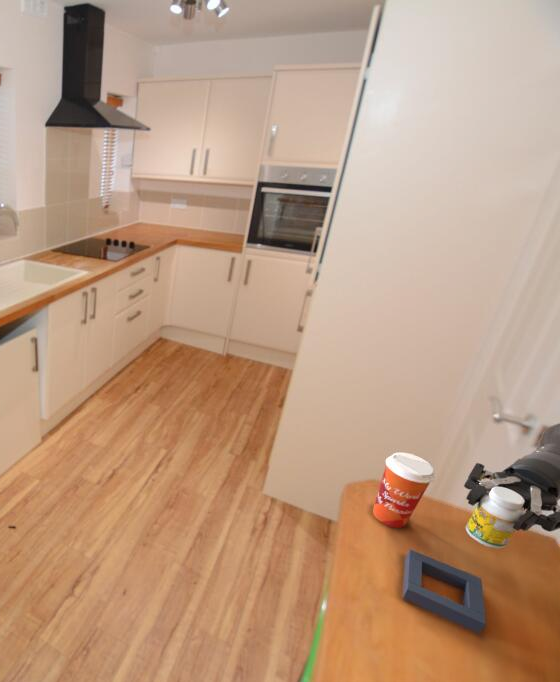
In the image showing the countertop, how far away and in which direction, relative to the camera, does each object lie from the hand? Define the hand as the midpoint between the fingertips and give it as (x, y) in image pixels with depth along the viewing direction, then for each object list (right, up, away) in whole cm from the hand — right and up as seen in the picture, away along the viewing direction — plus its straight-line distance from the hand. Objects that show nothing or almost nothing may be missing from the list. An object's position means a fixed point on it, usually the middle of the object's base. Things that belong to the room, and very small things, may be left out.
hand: (494, 512), depth 75 cm
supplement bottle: (+2, -6, +4) cm, 8 cm away
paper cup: (-4, -8, +18) cm, 20 cm away
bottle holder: (-6, -15, +3) cm, 17 cm away
